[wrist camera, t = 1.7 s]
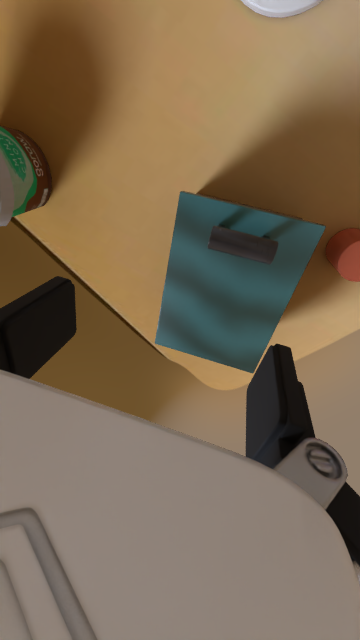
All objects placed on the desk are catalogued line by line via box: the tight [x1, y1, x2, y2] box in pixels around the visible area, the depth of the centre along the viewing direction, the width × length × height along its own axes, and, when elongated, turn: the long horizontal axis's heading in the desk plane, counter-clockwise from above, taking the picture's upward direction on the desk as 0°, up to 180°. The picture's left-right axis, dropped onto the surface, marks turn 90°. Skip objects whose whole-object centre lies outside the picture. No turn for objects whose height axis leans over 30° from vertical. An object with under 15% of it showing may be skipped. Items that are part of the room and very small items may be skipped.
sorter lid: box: [155, 191, 326, 373], centre depth 24 cm, size 17×13×5 cm
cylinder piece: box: [326, 228, 360, 282], centre depth 27 cm, size 4×4×5 cm
